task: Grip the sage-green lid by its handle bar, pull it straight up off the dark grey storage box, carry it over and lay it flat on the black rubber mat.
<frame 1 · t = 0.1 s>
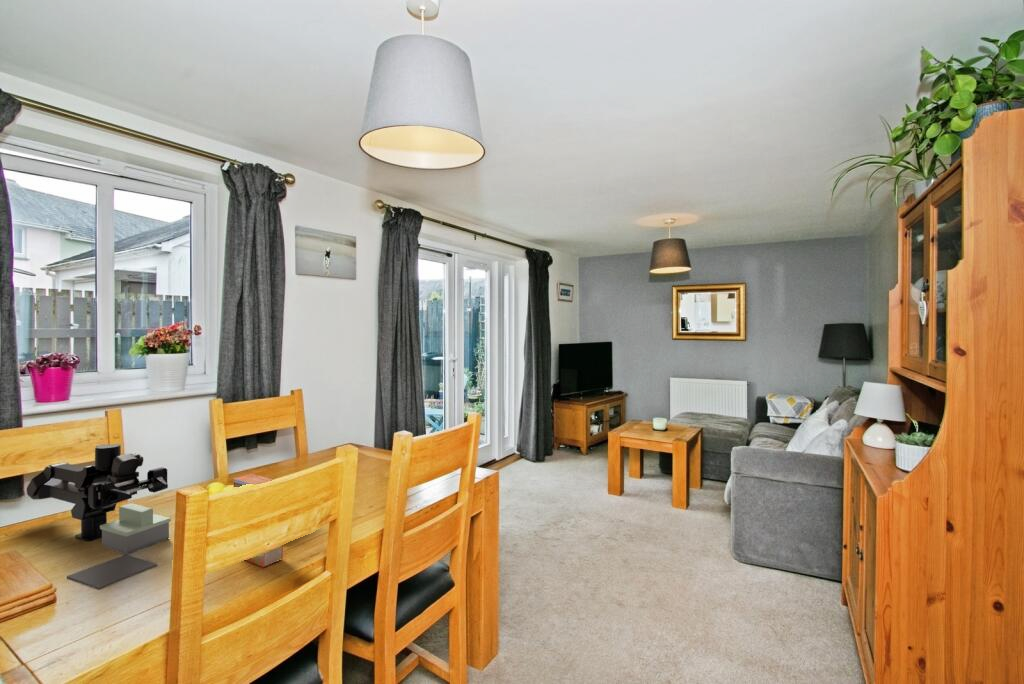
hand: (149, 491, 135), 17 cm above the table, tool horizontal, fingers open, 9 cm apart
mat: (113, 571, 125), on the table
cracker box: (258, 558, 134), on the table
lid: (136, 528, 141), point 4 cm above the table, touching storage box
storage box: (136, 542, 141), on the table
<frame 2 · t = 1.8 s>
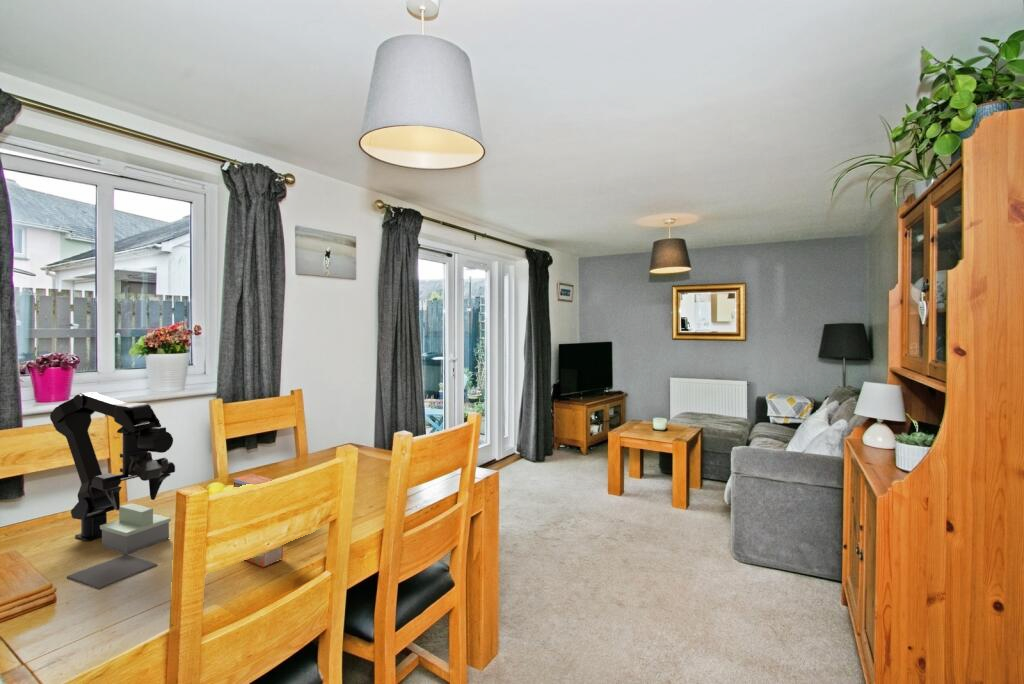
hand: (135, 504, 141), 11 cm above the table, tool pointing down, fingers open, 9 cm apart
nothing on the table moved.
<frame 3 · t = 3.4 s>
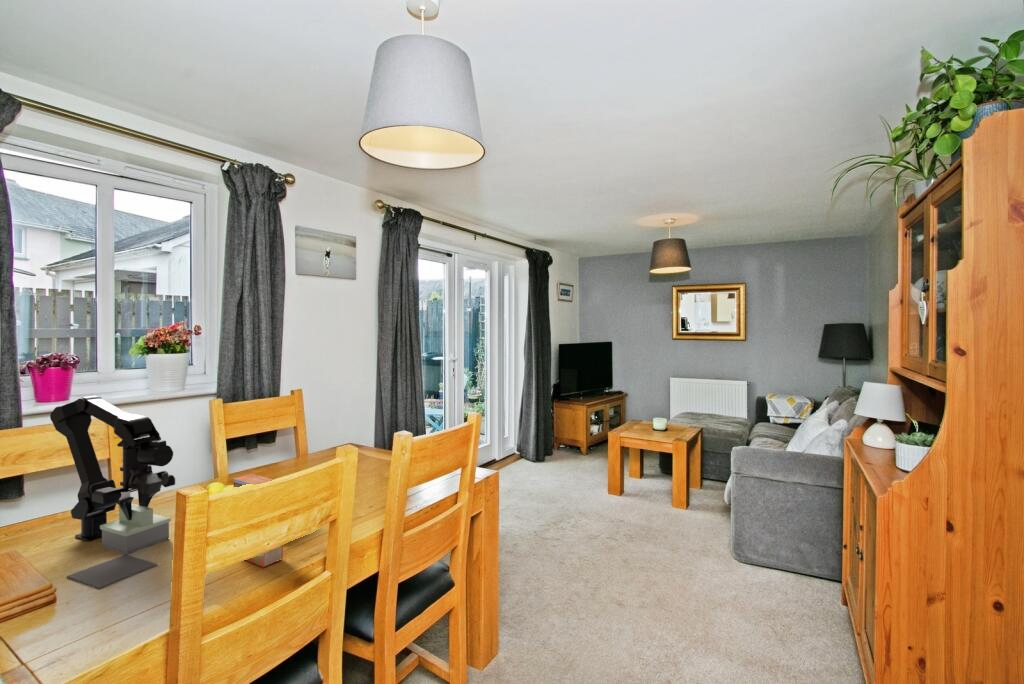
hand: (135, 518, 141), 7 cm above the table, tool pointing down, fingers closed on lid, 3 cm apart
lid: (136, 528, 141), point 4 cm above the table, touching gripper, storage box
everything else where it was.
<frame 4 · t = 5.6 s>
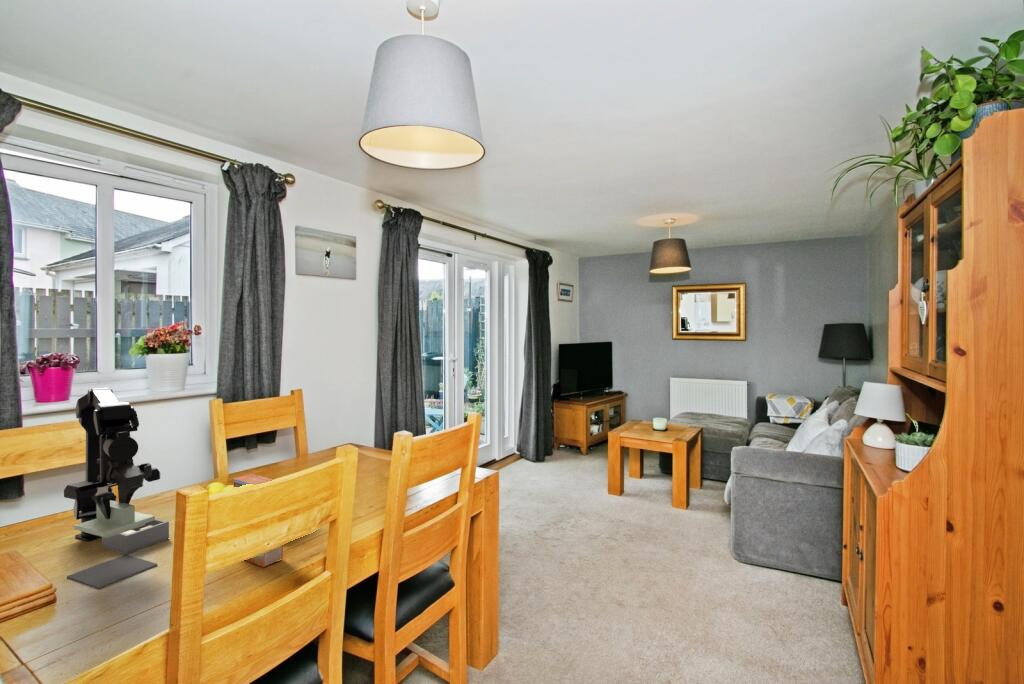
hand: (115, 516, 126), 13 cm above the table, tool pointing down, fingers closed on lid, 3 cm apart
lid: (115, 528, 126), point 10 cm above the table, touching gripper
everything else where it was.
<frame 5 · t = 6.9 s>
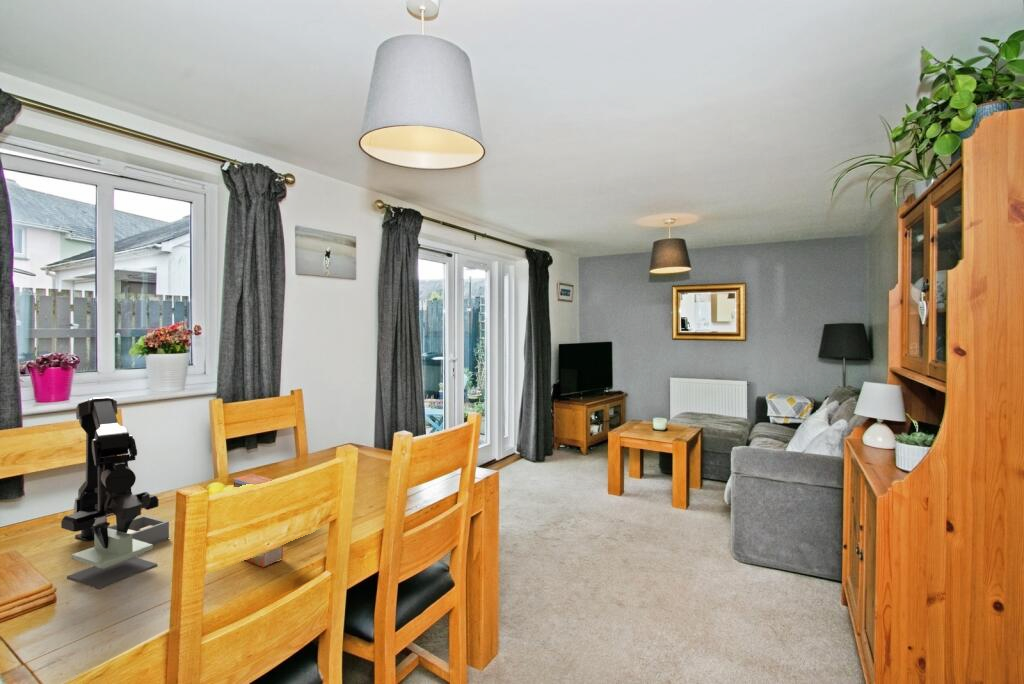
hand: (113, 545, 125), 6 cm above the table, tool pointing down, fingers closed on lid, 3 cm apart
lid: (113, 557, 125), point 4 cm above the table, touching gripper
everything else where it was.
when the fingers open (5 cm above the table, at t = 7.9 s): lid drops 2 cm, resting on mat.
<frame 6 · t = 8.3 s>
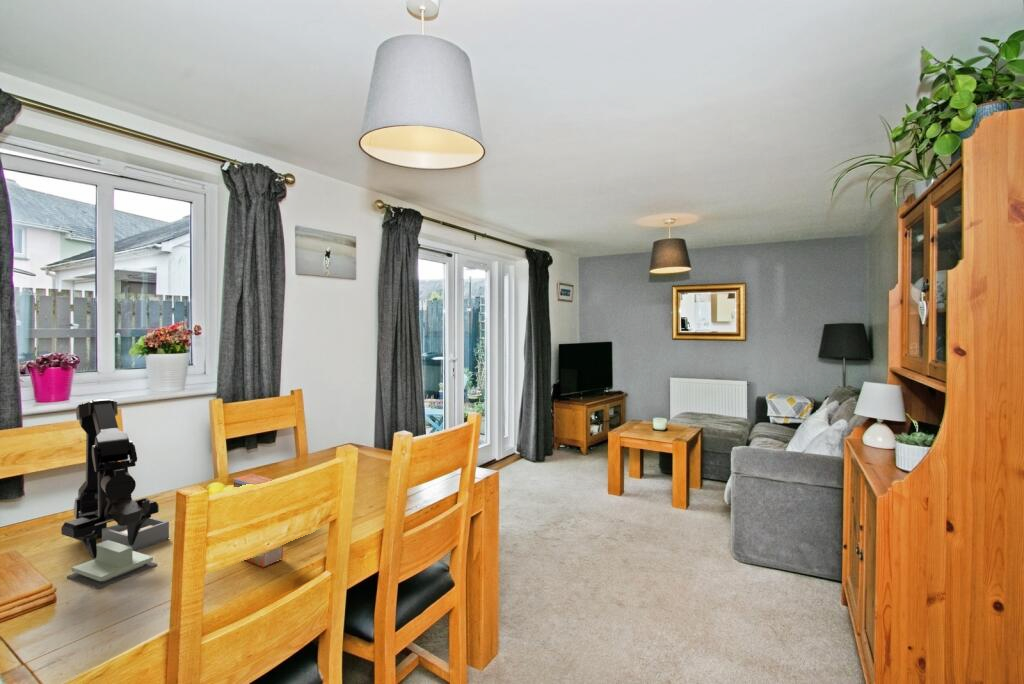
hand: (113, 551, 125), 5 cm above the table, tool pointing down, fingers open, 8 cm apart
lid: (113, 569, 125), resting on mat
everything else where it was.
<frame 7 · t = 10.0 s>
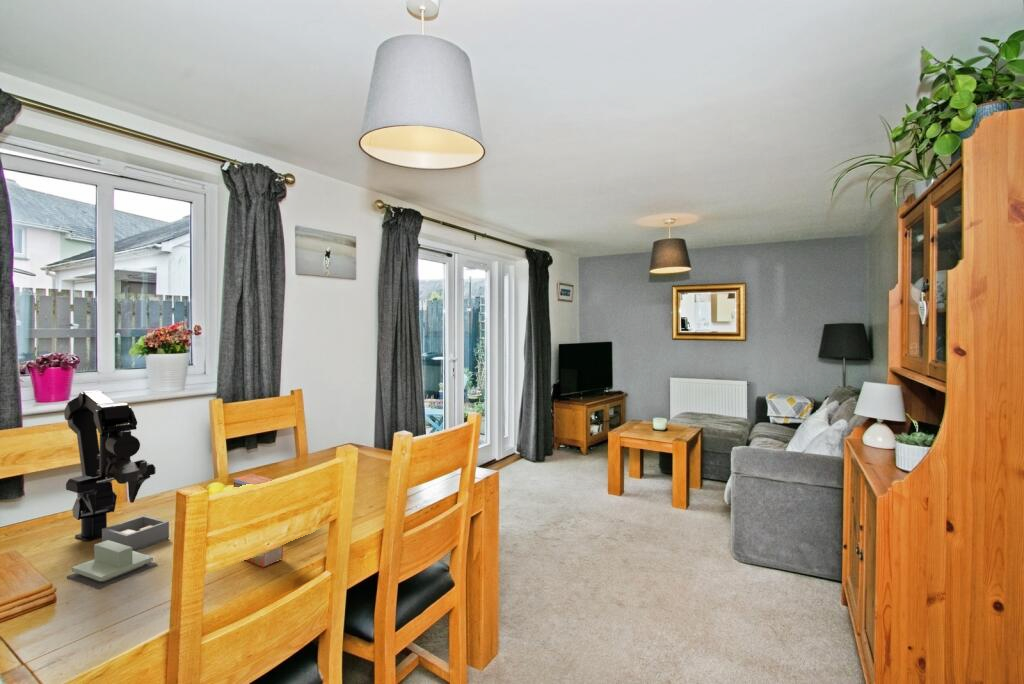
hand: (113, 507, 136), 12 cm above the table, tool pointing down, fingers open, 9 cm apart
nothing on the table moved.
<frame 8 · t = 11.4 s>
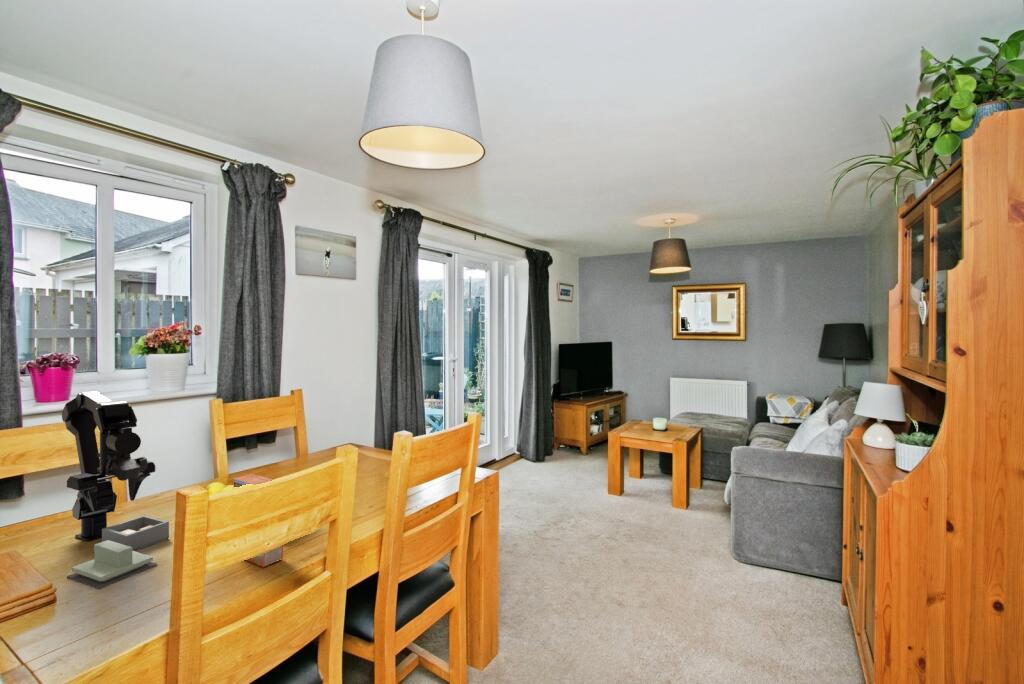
hand: (113, 505, 137), 12 cm above the table, tool pointing down, fingers open, 9 cm apart
nothing on the table moved.
at the end: lid inside the target area on the mat (0.0 cm from its centre), point 0.4 cm above the mat's base; lid tilted 0°; the gripper is holding nothing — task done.
